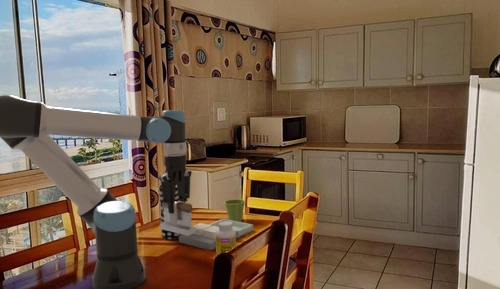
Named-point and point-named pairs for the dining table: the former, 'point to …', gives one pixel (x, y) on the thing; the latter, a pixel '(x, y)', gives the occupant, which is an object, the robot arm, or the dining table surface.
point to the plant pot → (235, 209)
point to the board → (199, 241)
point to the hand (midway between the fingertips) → (177, 220)
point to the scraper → (179, 219)
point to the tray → (237, 226)
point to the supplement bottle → (225, 237)
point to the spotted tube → (165, 233)
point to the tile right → (210, 232)
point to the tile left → (201, 228)
